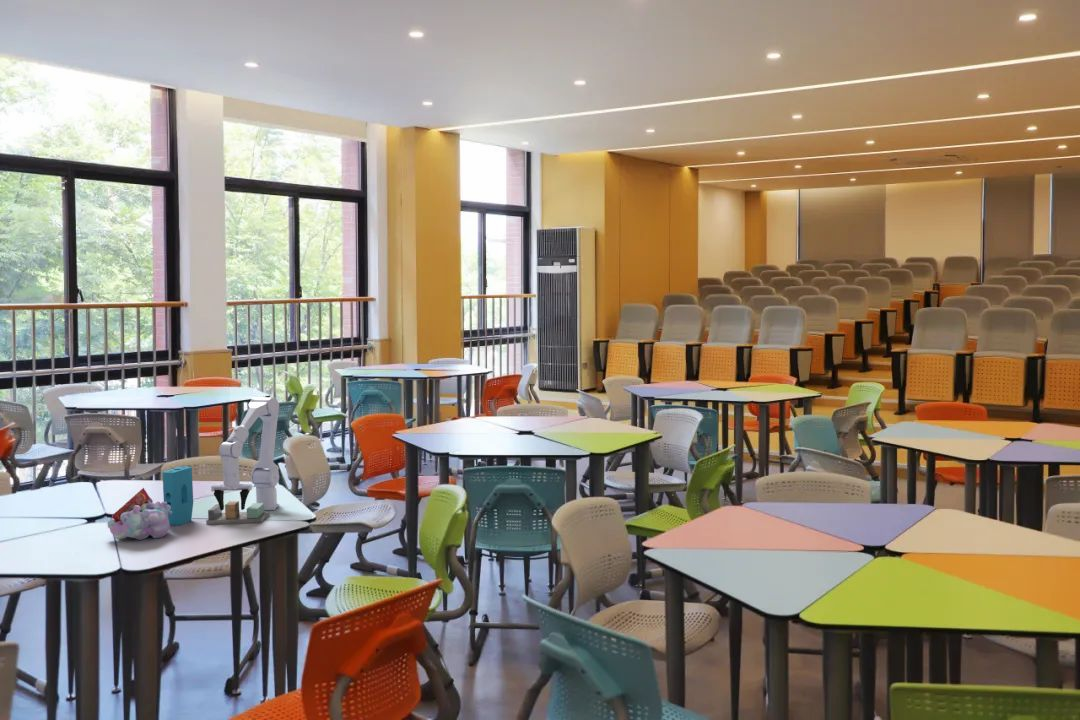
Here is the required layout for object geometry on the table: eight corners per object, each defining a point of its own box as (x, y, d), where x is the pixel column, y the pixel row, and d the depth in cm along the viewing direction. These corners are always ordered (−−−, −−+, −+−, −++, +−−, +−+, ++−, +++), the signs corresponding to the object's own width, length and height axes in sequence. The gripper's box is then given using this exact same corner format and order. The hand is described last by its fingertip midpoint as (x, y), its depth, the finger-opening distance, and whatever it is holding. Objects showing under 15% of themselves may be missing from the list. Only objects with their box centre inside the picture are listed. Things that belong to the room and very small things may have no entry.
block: (175, 526, 338) (173, 472, 336) (163, 526, 339) (161, 472, 337) (195, 519, 349) (192, 466, 348) (183, 518, 350) (181, 466, 349)
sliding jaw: (253, 512, 352) (253, 503, 352) (264, 511, 352) (264, 502, 352) (246, 518, 342) (246, 509, 342) (257, 517, 342) (257, 508, 342)
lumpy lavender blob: (154, 532, 310) (165, 482, 319) (90, 531, 310) (102, 481, 318) (174, 549, 328) (184, 501, 337) (113, 548, 328) (124, 500, 336)
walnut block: (230, 514, 349) (229, 501, 349) (239, 514, 349) (238, 501, 349) (225, 518, 343) (224, 504, 343) (235, 517, 344) (234, 504, 343)
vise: (216, 516, 352) (215, 503, 352) (269, 515, 353) (268, 502, 353) (206, 524, 341) (205, 511, 340) (261, 522, 342) (260, 509, 341)
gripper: (208, 476, 341) (209, 512, 342) (247, 475, 342) (249, 511, 343) (213, 472, 348) (215, 508, 349) (252, 471, 349) (254, 507, 350)
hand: (232, 509), depth 347 cm, fingers open, 7 cm apart
